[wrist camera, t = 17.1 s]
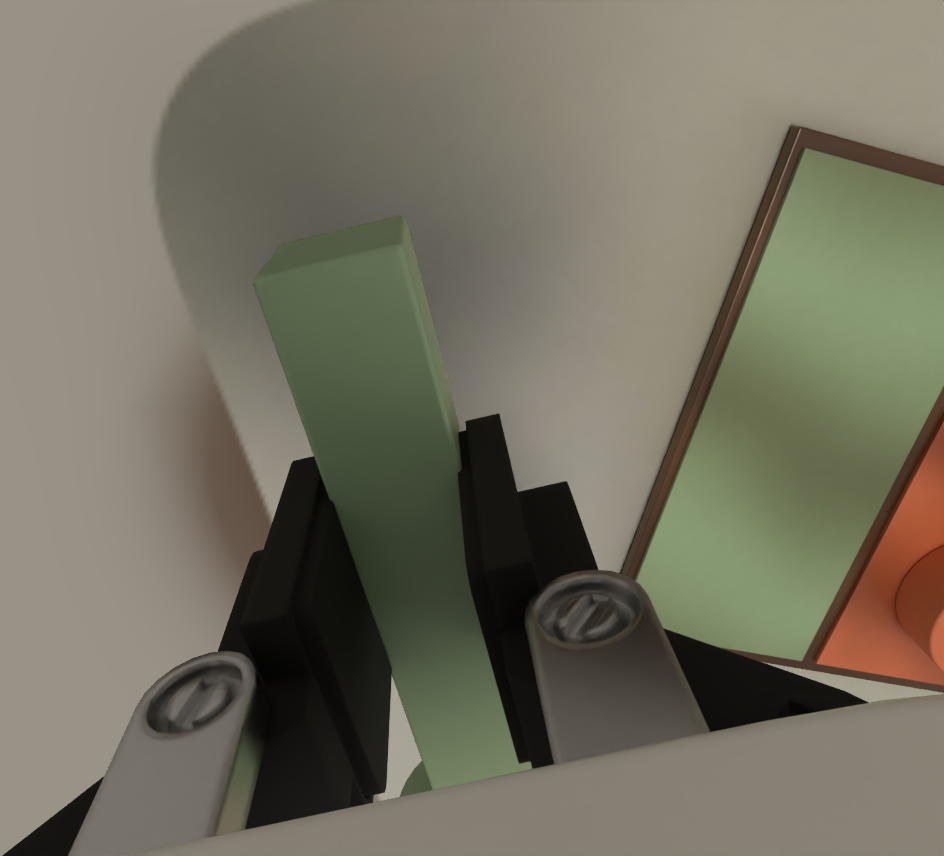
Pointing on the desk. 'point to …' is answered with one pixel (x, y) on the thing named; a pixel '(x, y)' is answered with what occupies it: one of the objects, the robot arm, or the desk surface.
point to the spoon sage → (392, 478)
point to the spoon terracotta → (924, 605)
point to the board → (813, 426)
